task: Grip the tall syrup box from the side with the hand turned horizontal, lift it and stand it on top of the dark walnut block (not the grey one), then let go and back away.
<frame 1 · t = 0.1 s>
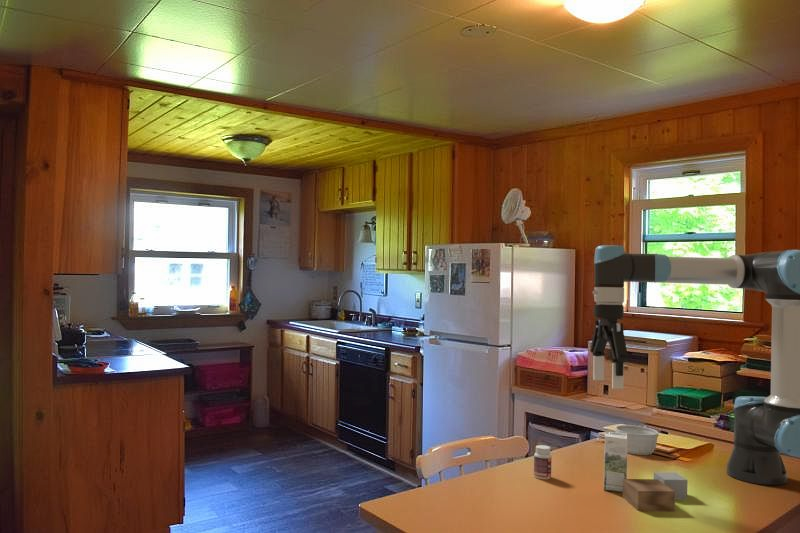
hand: (607, 384, 164), 28 cm above the table, tool pointing down, fingers open, 13 cm apart
walnut block: (647, 505, 154), on the table
ramekin: (636, 451, 204), on the table
grey block: (670, 495, 162), on the table
syrup box: (614, 489, 165), on the table
pill bottle: (542, 477, 173), on the table
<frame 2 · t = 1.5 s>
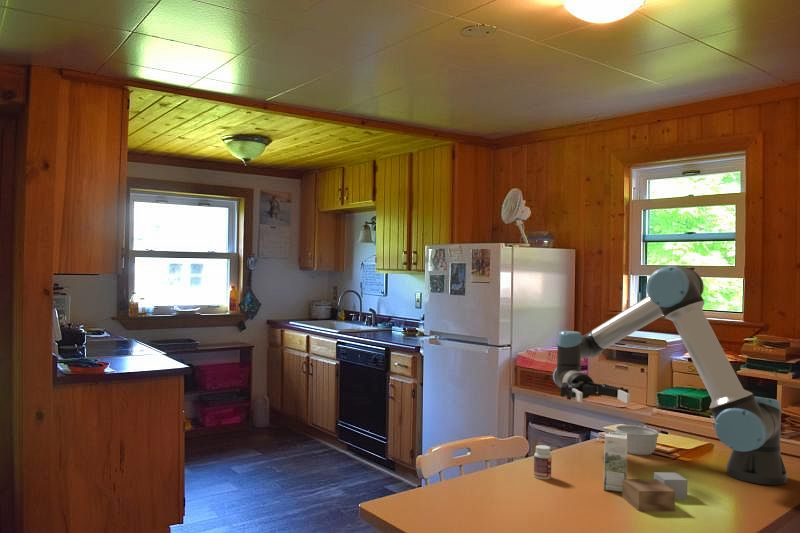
hand: (604, 398, 174), 22 cm above the table, tool horizontal, fingers open, 13 cm apart
nothing on the table moved.
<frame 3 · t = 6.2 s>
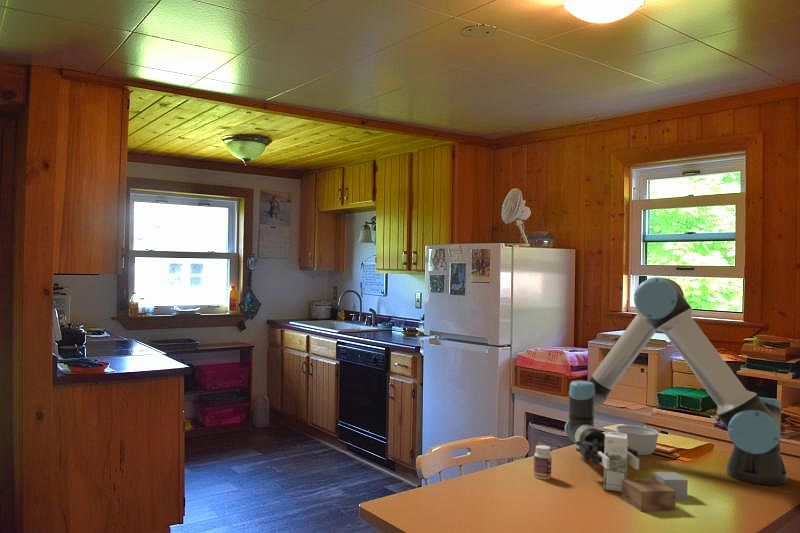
hand: (622, 464, 160), 8 cm above the table, tool horizontal, fingers closed on syrup box, 7 cm apart
syrup box: (614, 489, 165), on the table, touching gripper
everything else where it was.
when the fingers open (14 cm above the table, at t = 10.3 s): syrup box drops 1 cm, point 4 cm above the table.
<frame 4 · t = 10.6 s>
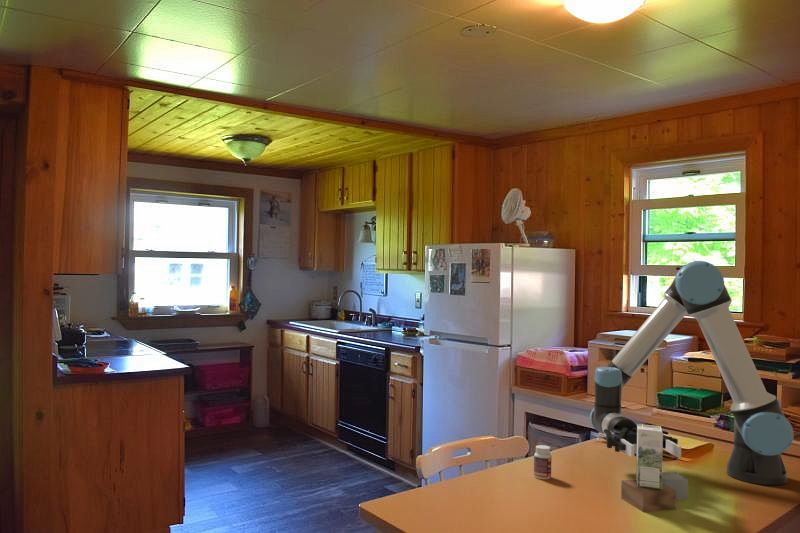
hand: (656, 451, 151), 14 cm above the table, tool horizontal, fingers open, 11 cm apart
syrup box: (648, 486, 154), point 4 cm above the table
everything else where it was.
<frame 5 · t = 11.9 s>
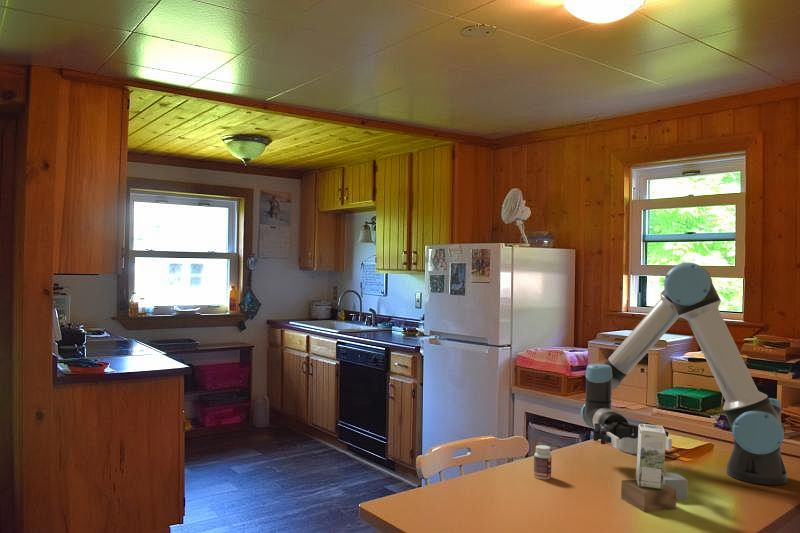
hand: (644, 444, 157), 14 cm above the table, tool horizontal, fingers open, 13 cm apart
walnut block: (647, 505, 155), on the table, touching syrup box
syrup box: (648, 485, 154), point 5 cm above the table, touching walnut block
everything else where it was.
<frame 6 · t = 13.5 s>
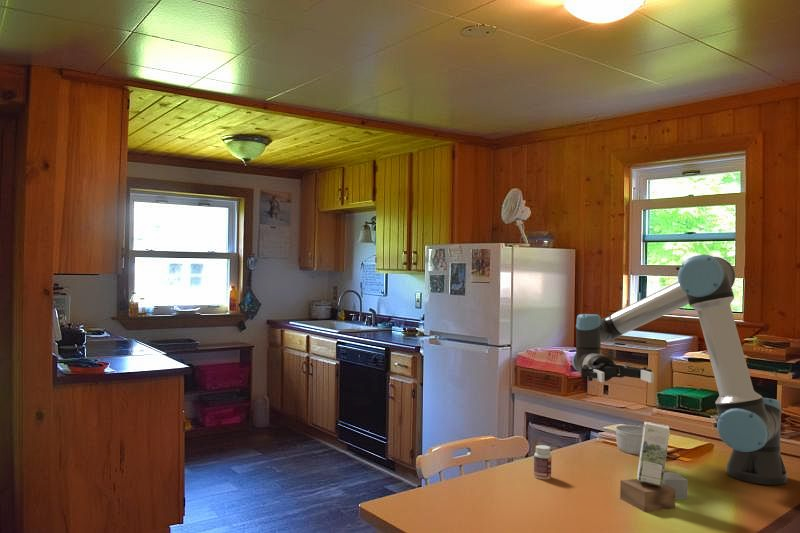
hand: (627, 377, 168), 29 cm above the table, tool horizontal, fingers open, 13 cm apart
walnut block: (647, 504, 155), on the table
syrup box: (649, 483, 155), point 5 cm above the table
everything else where it was.
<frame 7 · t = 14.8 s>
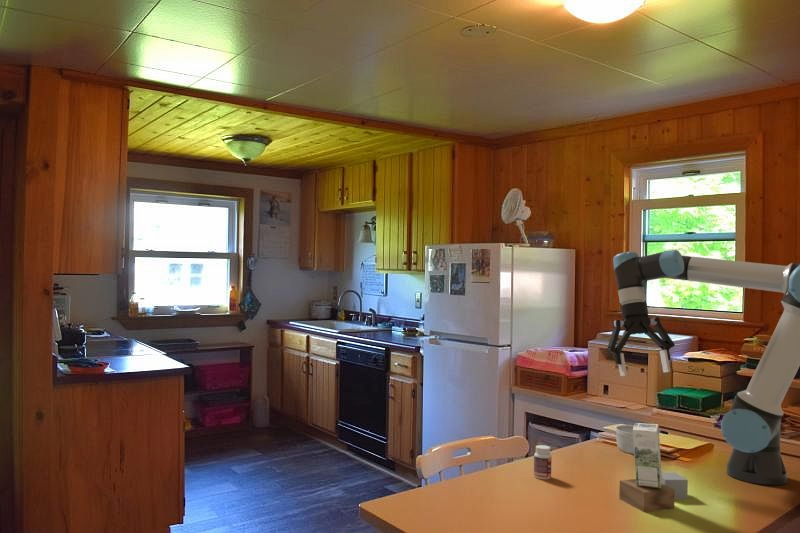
hand: (645, 374, 183), 28 cm above the table, tool pointing down, fingers open, 13 cm apart
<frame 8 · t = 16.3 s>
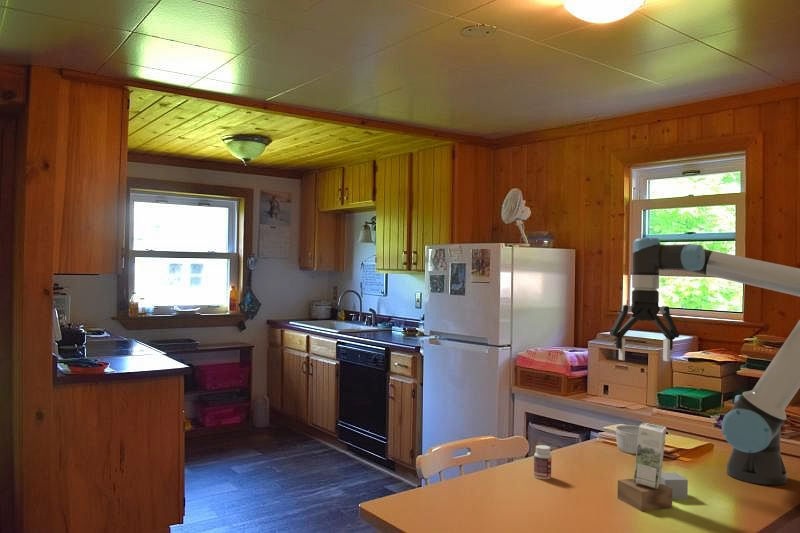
hand: (643, 360, 186), 32 cm above the table, tool pointing down, fingers open, 13 cm apart
walnut block: (644, 504, 155), on the table, touching syrup box
syrup box: (646, 484, 155), point 5 cm above the table, touching walnut block
everything else where it was.
at the end: syrup box inside the target area on the walnut block (0.5 cm from its centre), point 5.2 cm above the walnut block's base; syrup box tilted 6°; the gripper is holding nothing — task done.
